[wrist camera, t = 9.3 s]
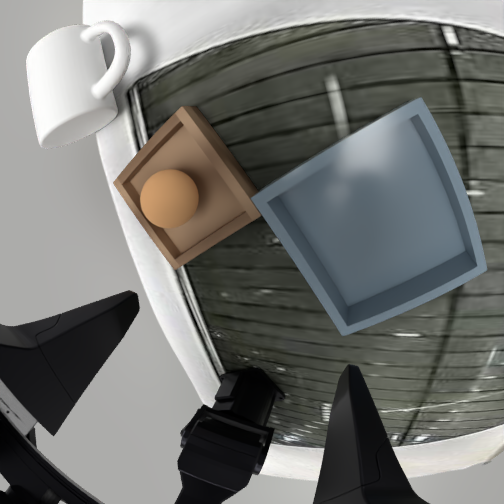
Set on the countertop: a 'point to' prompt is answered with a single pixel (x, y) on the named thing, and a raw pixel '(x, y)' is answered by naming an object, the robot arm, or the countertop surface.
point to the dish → (377, 219)
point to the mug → (75, 81)
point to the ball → (169, 198)
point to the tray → (204, 176)
